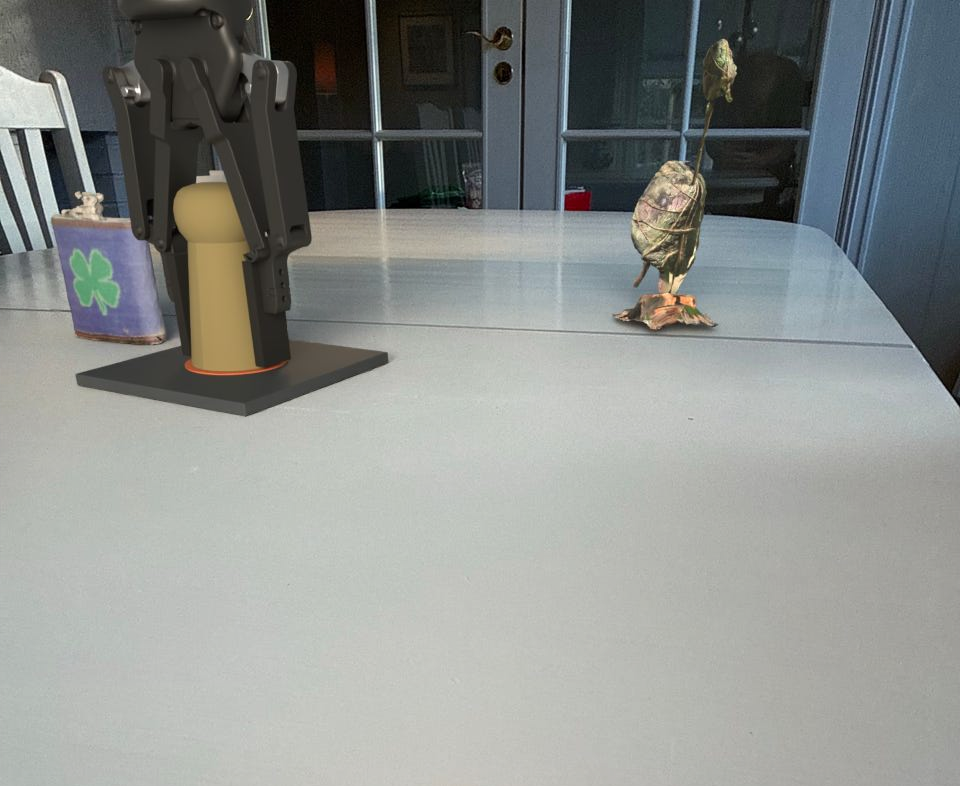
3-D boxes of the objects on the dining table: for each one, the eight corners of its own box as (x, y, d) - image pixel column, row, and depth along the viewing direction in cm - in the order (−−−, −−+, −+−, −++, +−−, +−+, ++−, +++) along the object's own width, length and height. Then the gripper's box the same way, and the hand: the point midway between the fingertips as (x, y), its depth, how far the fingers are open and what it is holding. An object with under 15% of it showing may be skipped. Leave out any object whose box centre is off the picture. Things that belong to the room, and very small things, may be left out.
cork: (255, 346, 66) (234, 178, 60) (297, 361, 62) (277, 182, 56) (177, 359, 62) (146, 182, 57) (215, 376, 58) (186, 187, 53)
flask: (174, 340, 72) (147, 191, 67) (147, 347, 70) (117, 194, 64) (92, 330, 76) (60, 188, 70) (64, 337, 73) (29, 191, 68)
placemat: (77, 385, 60) (73, 372, 60) (233, 341, 71) (232, 330, 71) (245, 416, 54) (243, 401, 53) (389, 363, 65) (388, 350, 64)
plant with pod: (693, 309, 81) (722, 45, 71) (725, 336, 71) (763, 34, 61) (604, 311, 81) (620, 46, 71) (624, 338, 71) (645, 35, 61)
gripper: (352, -72, 49) (380, 360, 61) (112, -43, 57) (178, 333, 69) (259, -94, 43) (309, 386, 55) (8, -59, 52) (98, 353, 63)
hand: (236, 356), depth 62 cm, fingers closed on cork, 6 cm apart
